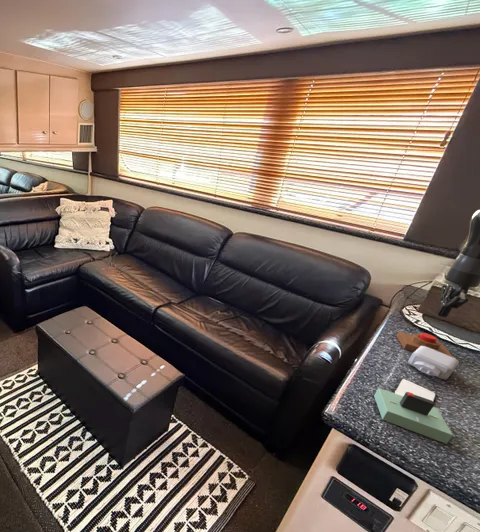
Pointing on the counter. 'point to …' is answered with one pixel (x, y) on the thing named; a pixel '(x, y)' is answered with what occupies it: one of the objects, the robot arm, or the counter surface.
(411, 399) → the black block
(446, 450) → the counter surface
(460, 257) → the robot arm
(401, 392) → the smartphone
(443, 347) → the button block
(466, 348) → the counter surface
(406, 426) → the panel
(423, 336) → the power button
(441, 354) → the charger
